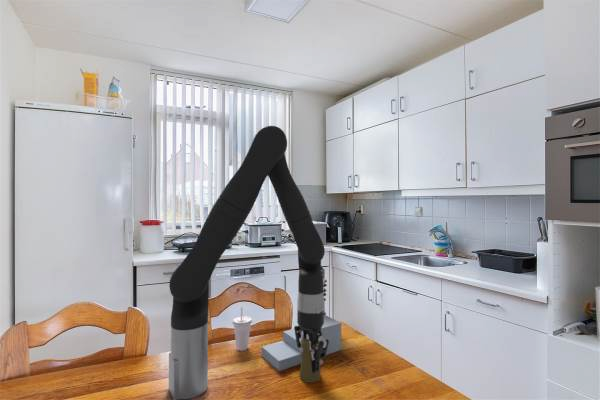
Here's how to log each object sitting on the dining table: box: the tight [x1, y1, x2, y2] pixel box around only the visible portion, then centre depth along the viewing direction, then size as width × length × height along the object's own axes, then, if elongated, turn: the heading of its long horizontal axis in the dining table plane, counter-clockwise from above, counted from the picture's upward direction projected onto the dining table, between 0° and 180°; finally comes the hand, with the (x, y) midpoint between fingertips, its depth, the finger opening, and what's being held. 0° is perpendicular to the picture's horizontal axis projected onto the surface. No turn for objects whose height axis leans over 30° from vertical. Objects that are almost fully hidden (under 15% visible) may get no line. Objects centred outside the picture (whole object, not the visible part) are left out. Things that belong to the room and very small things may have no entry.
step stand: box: [261, 314, 342, 372], centre depth 103 cm, size 24×11×9 cm, turn 124°
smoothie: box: [232, 306, 253, 352], centre depth 106 cm, size 6×6×14 cm
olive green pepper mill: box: [299, 337, 322, 383], centre depth 89 cm, size 6×6×11 cm
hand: (310, 368), depth 89 cm, fingers closed on olive green pepper mill, 4 cm apart
